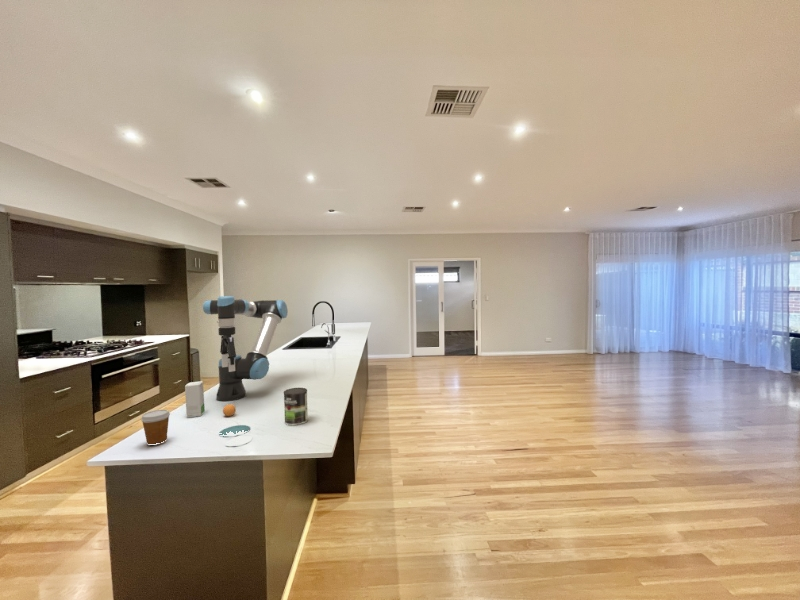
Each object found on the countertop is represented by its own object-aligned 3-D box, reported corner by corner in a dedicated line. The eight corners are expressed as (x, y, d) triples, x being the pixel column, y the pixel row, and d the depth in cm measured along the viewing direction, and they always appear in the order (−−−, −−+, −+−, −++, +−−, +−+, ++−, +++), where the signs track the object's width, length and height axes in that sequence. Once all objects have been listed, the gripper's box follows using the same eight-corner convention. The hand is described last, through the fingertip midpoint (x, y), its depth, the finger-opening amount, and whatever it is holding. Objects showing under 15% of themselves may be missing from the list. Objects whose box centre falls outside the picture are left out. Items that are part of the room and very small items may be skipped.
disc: (229, 425, 152) (229, 425, 152) (255, 425, 152) (255, 425, 152) (212, 437, 140) (212, 436, 140) (241, 437, 140) (241, 436, 140)
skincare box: (200, 416, 165) (199, 384, 164) (185, 418, 163) (183, 386, 162) (205, 410, 173) (203, 380, 172) (190, 412, 171) (188, 381, 170)
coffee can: (299, 426, 149) (297, 394, 149) (279, 424, 153) (278, 393, 152) (312, 418, 159) (311, 388, 158) (294, 415, 162) (293, 386, 162)
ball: (227, 413, 167) (226, 402, 167) (238, 413, 167) (237, 402, 167) (220, 417, 162) (220, 406, 162) (231, 417, 162) (231, 406, 162)
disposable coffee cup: (146, 440, 139) (144, 411, 139) (173, 435, 143) (172, 407, 142) (138, 450, 130) (137, 419, 130) (168, 445, 134) (167, 415, 134)
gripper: (212, 326, 178) (214, 366, 178) (224, 329, 159) (226, 374, 159) (228, 324, 182) (229, 364, 183) (242, 327, 163) (243, 371, 164)
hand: (228, 369), depth 171 cm, fingers open, 13 cm apart
